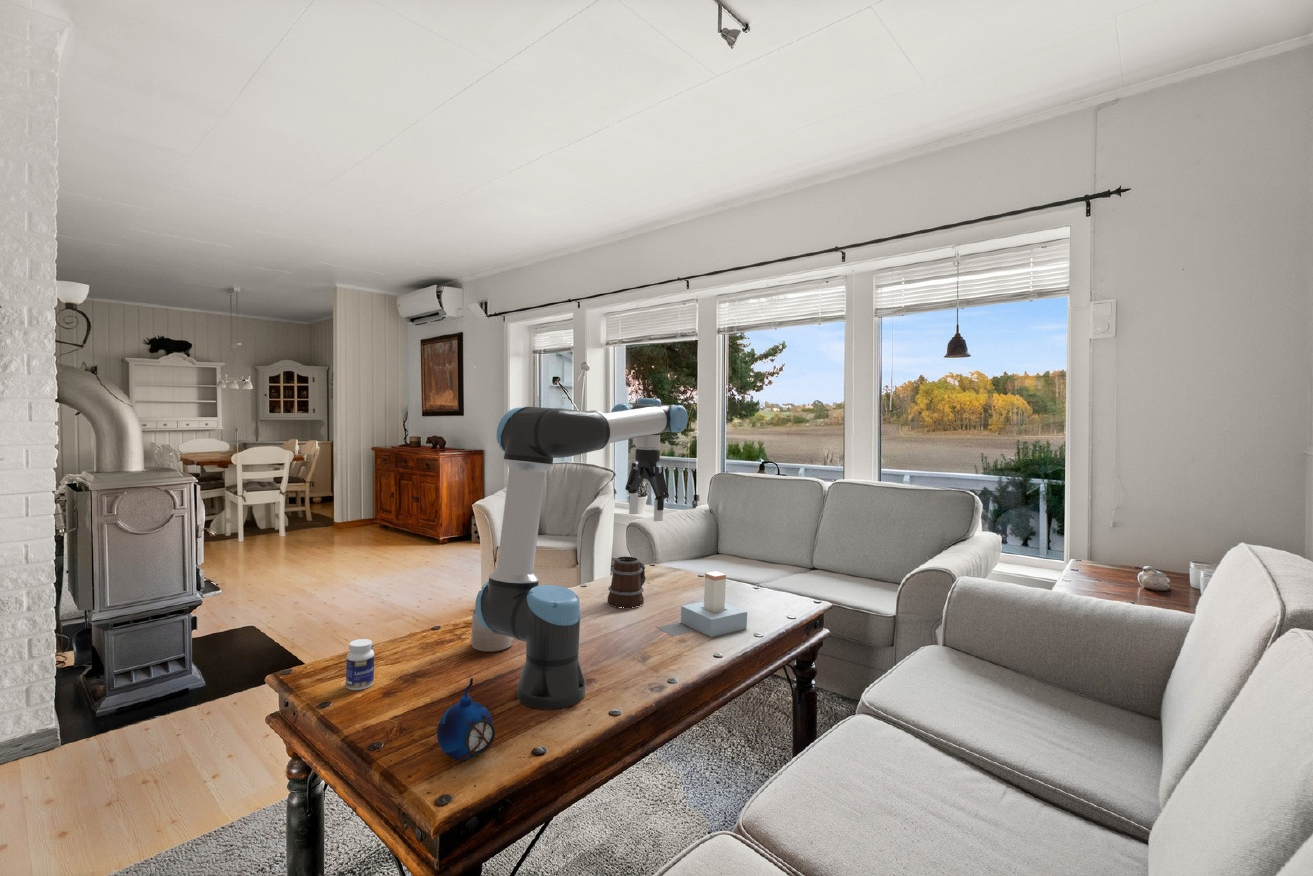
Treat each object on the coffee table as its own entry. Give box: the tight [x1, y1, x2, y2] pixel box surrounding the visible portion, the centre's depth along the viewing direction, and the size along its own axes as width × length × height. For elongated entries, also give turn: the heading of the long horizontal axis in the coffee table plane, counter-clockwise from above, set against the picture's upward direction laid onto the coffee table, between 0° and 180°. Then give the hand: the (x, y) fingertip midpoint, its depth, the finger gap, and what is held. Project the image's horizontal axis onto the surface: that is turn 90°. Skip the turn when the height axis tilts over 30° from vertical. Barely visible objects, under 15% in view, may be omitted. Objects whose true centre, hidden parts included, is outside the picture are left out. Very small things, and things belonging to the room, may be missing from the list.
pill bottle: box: [345, 638, 375, 691], centre depth 140 cm, size 6×6×10 cm
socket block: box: [680, 601, 748, 638], centre depth 185 cm, size 14×14×6 cm
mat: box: [656, 622, 695, 637], centre depth 181 cm, size 8×8×1 cm
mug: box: [607, 556, 647, 609], centre depth 208 cm, size 16×12×15 cm
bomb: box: [436, 677, 497, 761], centre depth 113 cm, size 10×11×15 cm
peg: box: [703, 570, 727, 613], centre depth 185 cm, size 4×4×14 cm
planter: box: [470, 608, 514, 653], centre depth 166 cm, size 11×11×10 cm
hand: (645, 517), depth 191 cm, fingers open, 13 cm apart
